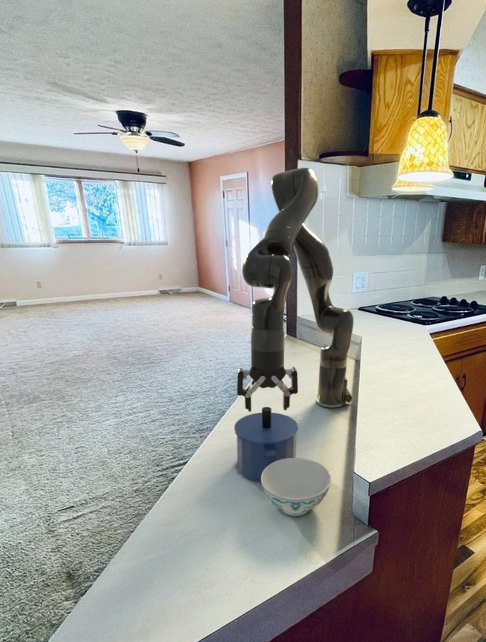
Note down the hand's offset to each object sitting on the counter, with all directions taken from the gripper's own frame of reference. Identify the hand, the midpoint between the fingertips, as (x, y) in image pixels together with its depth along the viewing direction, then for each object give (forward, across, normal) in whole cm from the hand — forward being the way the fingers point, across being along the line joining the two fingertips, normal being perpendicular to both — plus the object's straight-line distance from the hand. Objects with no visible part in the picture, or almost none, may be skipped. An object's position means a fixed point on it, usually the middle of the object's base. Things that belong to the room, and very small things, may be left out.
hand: (267, 409), depth 99 cm
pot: (+16, 0, 0) cm, 16 cm away
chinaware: (+16, +5, -17) cm, 24 cm away
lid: (+5, 0, 0) cm, 5 cm away
